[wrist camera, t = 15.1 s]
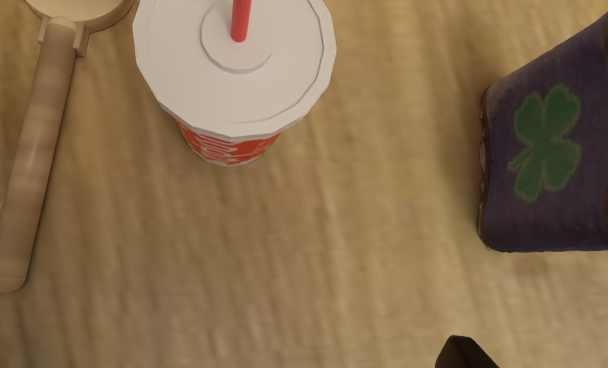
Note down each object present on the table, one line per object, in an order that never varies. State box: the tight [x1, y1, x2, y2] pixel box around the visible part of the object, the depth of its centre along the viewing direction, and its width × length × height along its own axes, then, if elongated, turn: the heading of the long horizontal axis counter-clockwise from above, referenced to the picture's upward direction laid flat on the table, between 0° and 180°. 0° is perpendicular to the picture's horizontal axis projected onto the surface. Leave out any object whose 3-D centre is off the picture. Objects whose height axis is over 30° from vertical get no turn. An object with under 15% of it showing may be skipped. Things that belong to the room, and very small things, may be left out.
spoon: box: [0, 0, 134, 293], centre depth 21 cm, size 17×5×1 cm, turn 173°
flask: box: [478, 12, 608, 253], centre depth 20 cm, size 9×3×11 cm, turn 174°
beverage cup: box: [132, 0, 337, 167], centre depth 16 cm, size 6×6×14 cm
